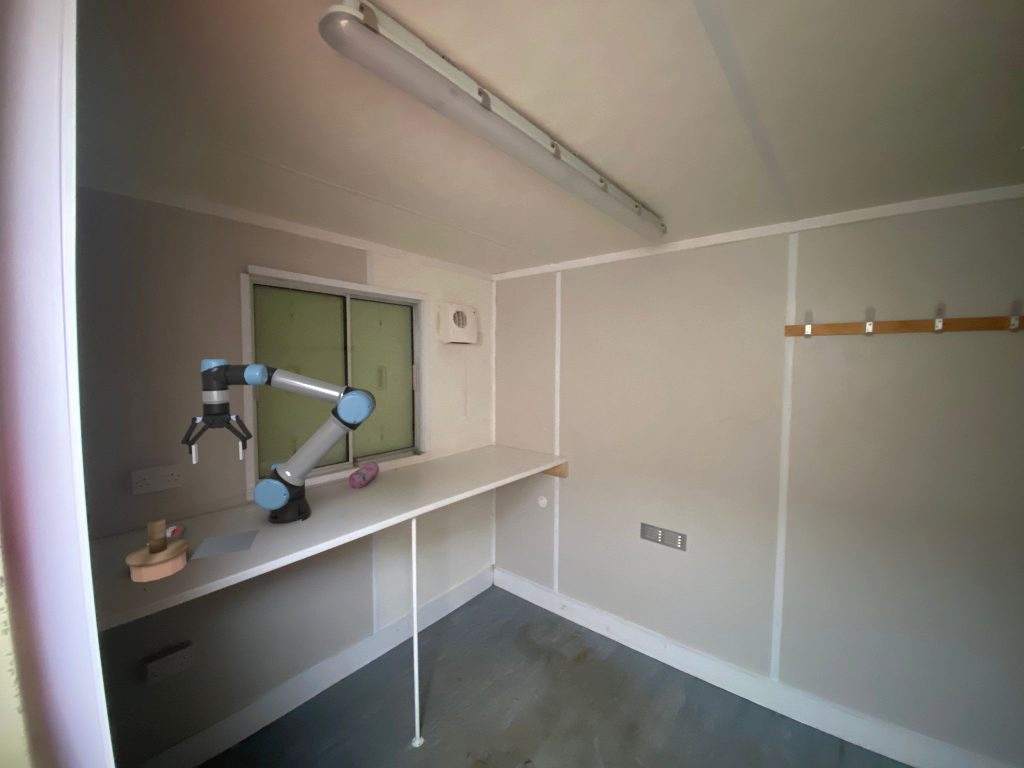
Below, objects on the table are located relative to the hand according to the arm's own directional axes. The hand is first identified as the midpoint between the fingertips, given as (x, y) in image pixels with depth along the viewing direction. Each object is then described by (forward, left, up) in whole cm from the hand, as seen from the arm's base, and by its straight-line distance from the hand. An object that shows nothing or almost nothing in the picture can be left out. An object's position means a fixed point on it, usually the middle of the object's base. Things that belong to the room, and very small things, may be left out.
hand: (219, 460), depth 135 cm
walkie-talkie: (+18, -3, -29) cm, 34 cm away
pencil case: (-50, -46, -29) cm, 74 cm away
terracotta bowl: (+11, +20, -29) cm, 37 cm away
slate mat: (-3, +8, -29) cm, 30 cm away
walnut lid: (+11, +20, -23) cm, 32 cm away
